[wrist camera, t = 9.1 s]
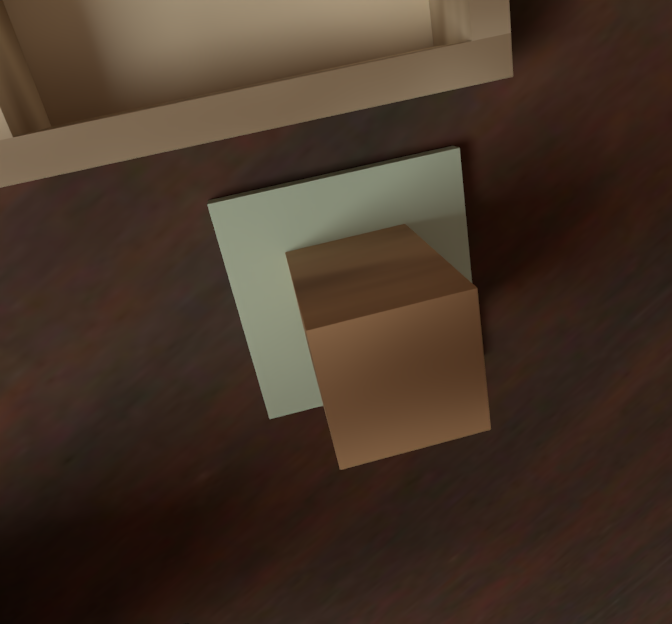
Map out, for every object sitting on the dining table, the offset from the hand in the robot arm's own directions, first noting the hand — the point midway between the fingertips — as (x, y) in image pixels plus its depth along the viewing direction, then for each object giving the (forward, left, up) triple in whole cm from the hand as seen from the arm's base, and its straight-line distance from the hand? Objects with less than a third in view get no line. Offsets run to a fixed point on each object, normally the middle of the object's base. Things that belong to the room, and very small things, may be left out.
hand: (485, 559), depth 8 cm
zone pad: (0, 0, -12) cm, 12 cm away
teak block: (0, 0, -11) cm, 11 cm away
